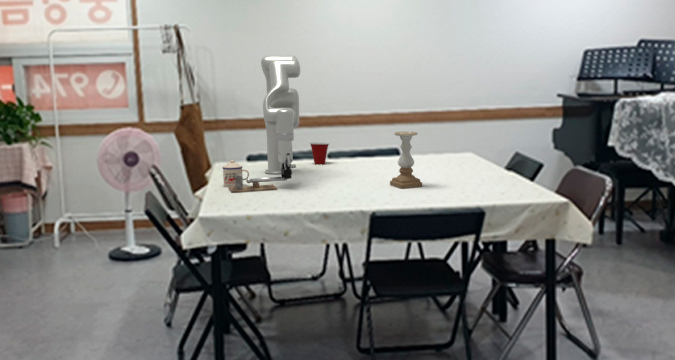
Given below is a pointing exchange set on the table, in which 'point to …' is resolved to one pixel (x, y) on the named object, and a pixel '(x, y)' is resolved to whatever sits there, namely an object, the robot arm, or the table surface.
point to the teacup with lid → (232, 173)
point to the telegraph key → (255, 187)
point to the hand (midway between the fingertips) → (286, 177)
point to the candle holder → (406, 164)
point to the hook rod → (268, 178)
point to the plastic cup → (319, 152)
